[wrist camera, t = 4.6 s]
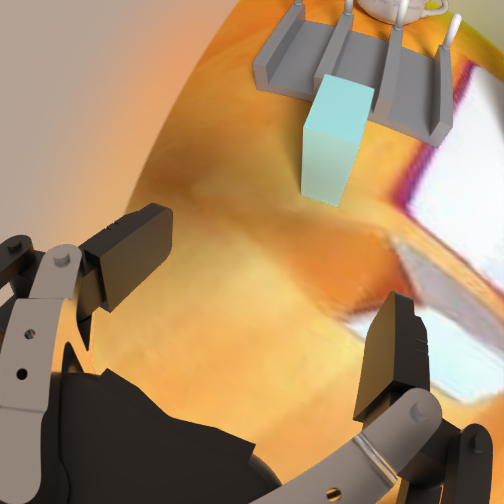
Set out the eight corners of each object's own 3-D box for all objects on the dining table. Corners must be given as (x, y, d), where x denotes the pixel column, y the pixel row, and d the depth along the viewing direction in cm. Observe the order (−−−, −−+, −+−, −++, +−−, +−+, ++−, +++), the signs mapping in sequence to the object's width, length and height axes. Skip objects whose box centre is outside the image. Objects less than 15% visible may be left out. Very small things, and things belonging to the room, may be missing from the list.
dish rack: (440, 69, 27) (463, 15, 18) (437, 148, 25) (478, 87, 15) (295, 25, 31) (291, -35, 22) (256, 89, 29) (243, 17, 19)
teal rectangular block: (352, 160, 26) (374, 88, 16) (337, 207, 25) (360, 145, 15) (317, 149, 27) (325, 73, 17) (300, 194, 26) (303, 127, 16)
